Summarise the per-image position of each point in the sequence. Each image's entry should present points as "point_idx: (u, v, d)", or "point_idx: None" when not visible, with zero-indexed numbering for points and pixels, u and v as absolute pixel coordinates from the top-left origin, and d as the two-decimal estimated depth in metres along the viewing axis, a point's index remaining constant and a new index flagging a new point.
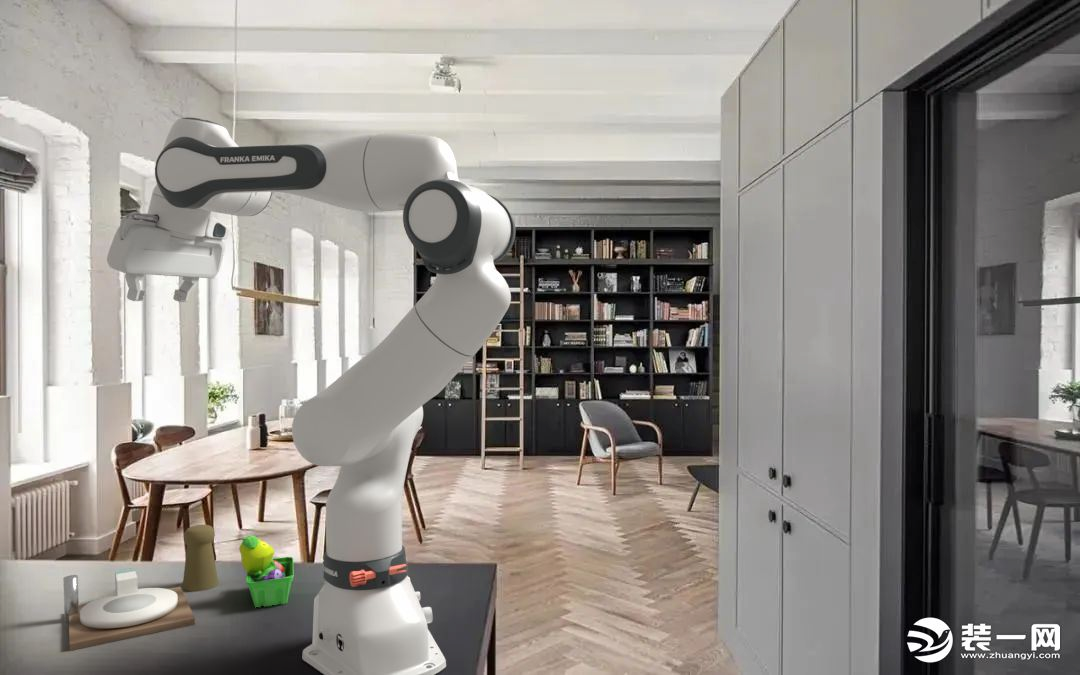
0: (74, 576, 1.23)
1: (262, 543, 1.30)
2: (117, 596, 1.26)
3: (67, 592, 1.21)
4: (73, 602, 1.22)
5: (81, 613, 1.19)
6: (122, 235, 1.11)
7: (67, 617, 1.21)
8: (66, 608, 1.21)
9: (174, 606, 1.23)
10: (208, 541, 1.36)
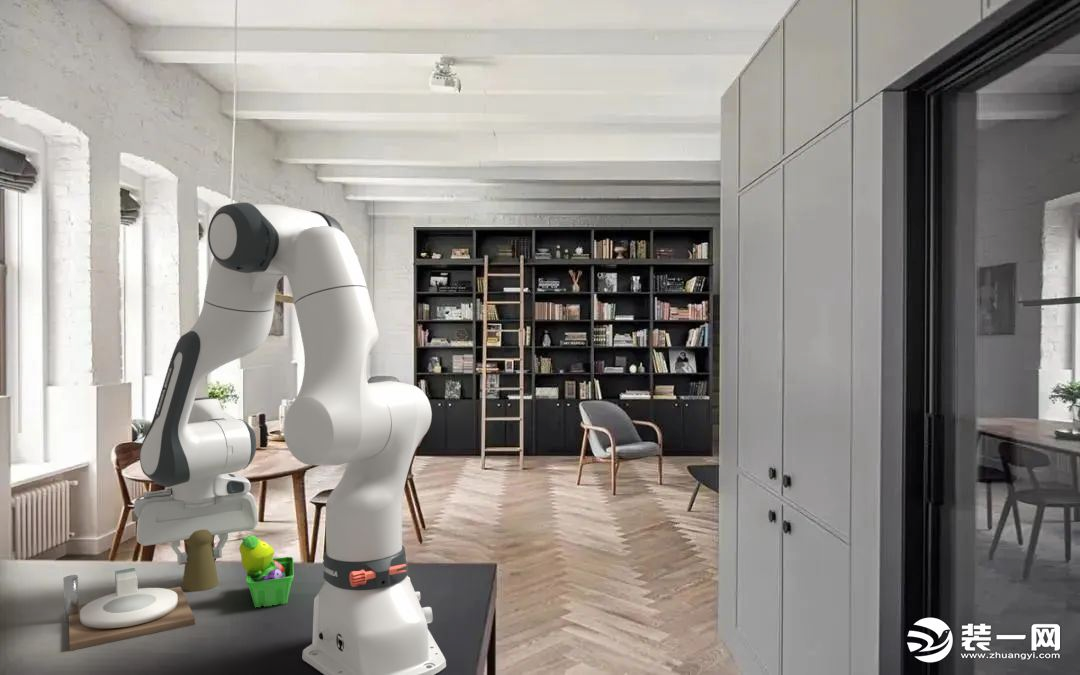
0: (74, 576, 1.23)
1: (262, 543, 1.30)
2: (117, 596, 1.26)
3: (67, 592, 1.21)
4: (73, 602, 1.22)
5: (81, 613, 1.19)
6: (136, 514, 1.31)
7: (67, 617, 1.21)
8: (66, 608, 1.21)
9: (174, 606, 1.23)
10: (208, 541, 1.36)
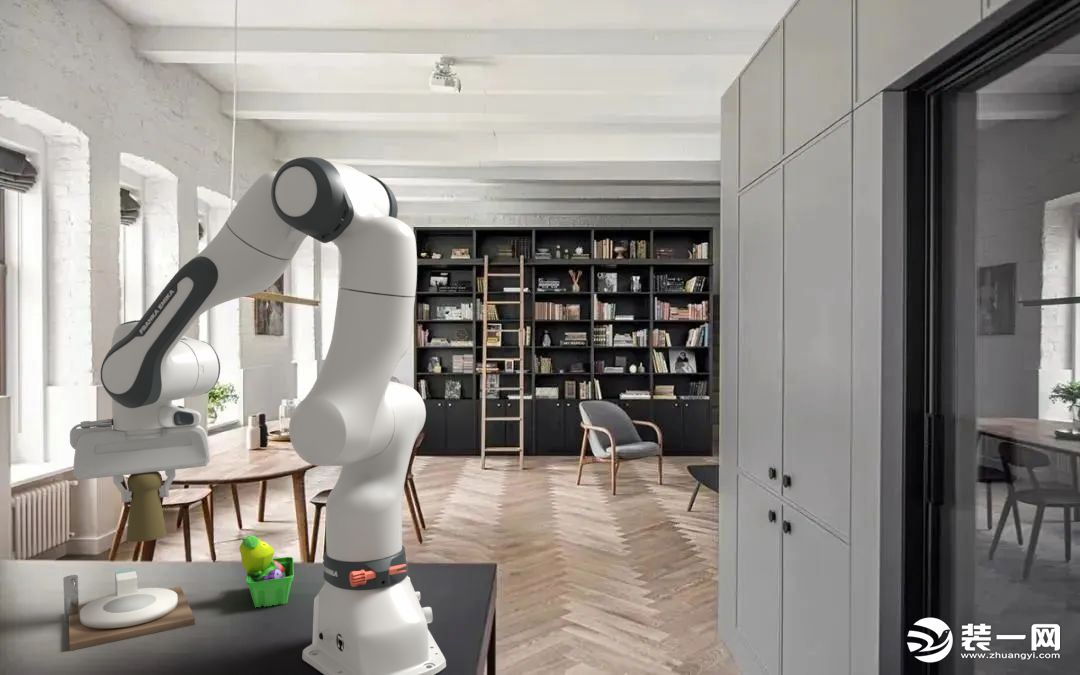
0: (74, 576, 1.23)
1: (262, 543, 1.30)
2: (117, 596, 1.26)
3: (67, 592, 1.21)
4: (73, 602, 1.22)
5: (81, 613, 1.19)
6: (72, 445, 1.20)
7: (67, 617, 1.21)
8: (66, 608, 1.21)
9: (174, 606, 1.23)
10: (154, 487, 1.24)
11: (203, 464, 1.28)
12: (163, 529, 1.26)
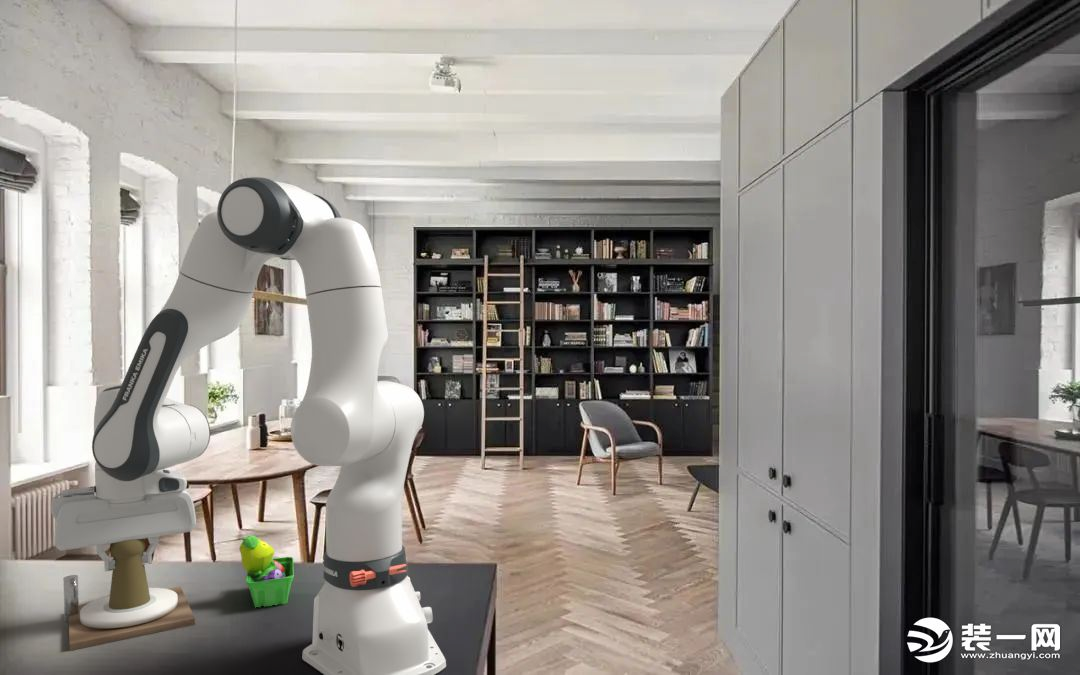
0: (74, 576, 1.23)
1: (262, 543, 1.30)
2: None
3: (67, 592, 1.21)
4: (73, 602, 1.22)
5: (81, 613, 1.19)
6: (53, 515, 1.16)
7: (67, 617, 1.21)
8: (66, 608, 1.21)
9: (174, 606, 1.23)
10: (137, 553, 1.21)
11: (188, 530, 1.25)
12: (147, 595, 1.23)
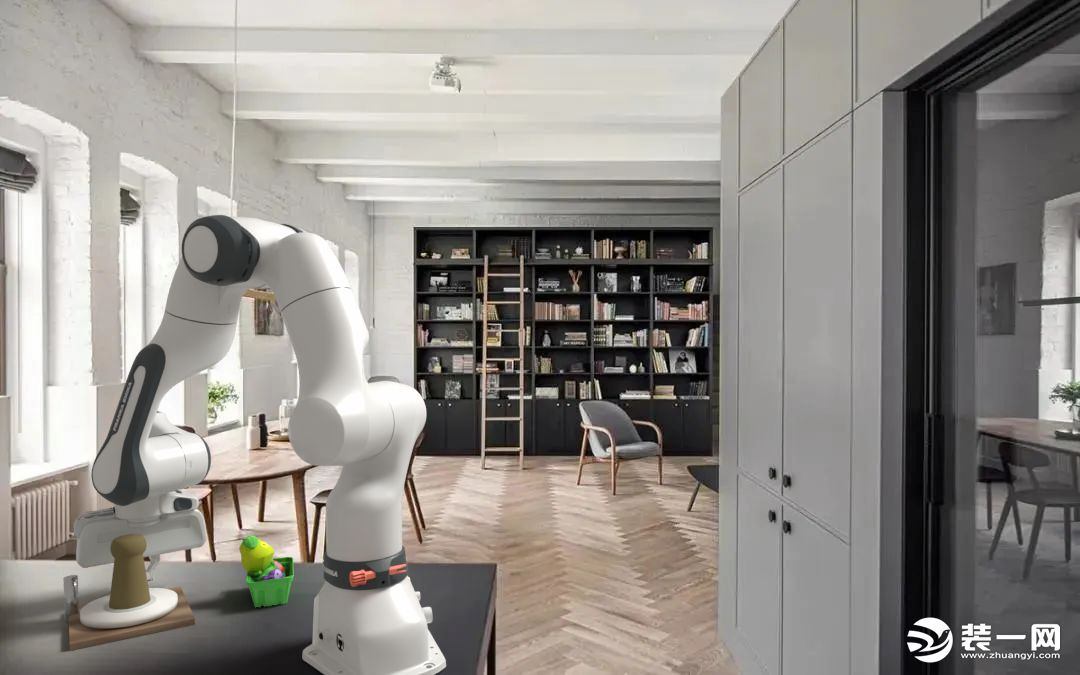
0: (74, 576, 1.23)
1: (262, 543, 1.30)
2: None
3: (67, 592, 1.21)
4: (73, 602, 1.22)
5: (81, 613, 1.18)
6: (76, 535, 1.25)
7: (67, 617, 1.21)
8: (66, 608, 1.21)
9: (174, 606, 1.23)
10: (138, 553, 1.21)
11: (200, 545, 1.36)
12: (147, 595, 1.23)
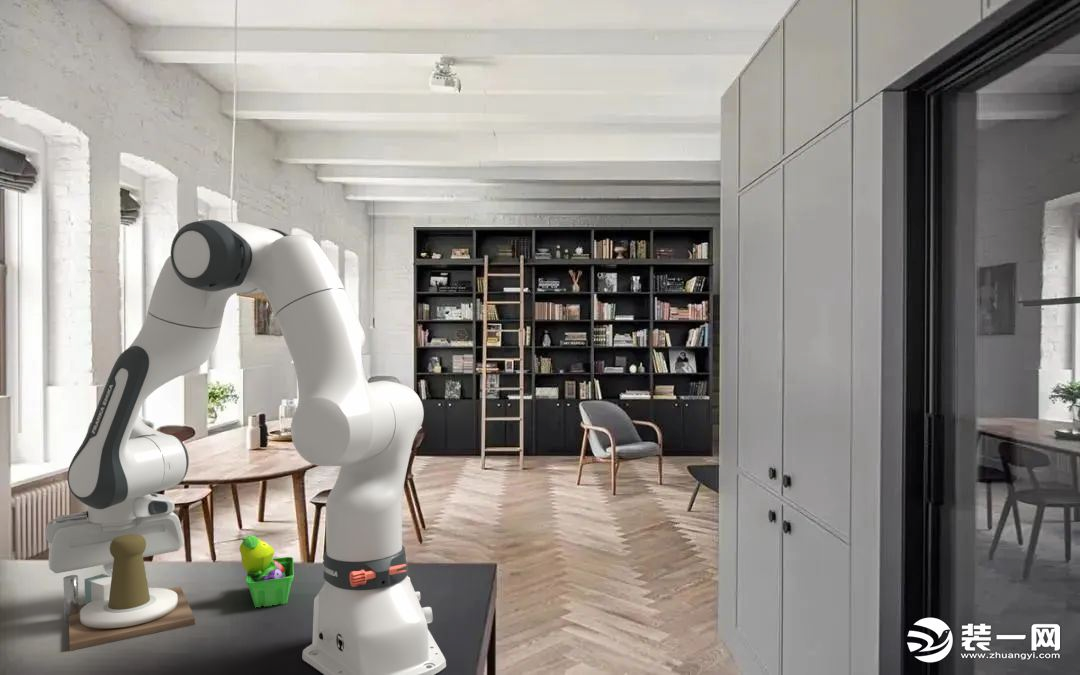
0: (74, 576, 1.23)
1: (262, 543, 1.30)
2: (104, 601, 1.24)
3: (67, 592, 1.21)
4: (73, 602, 1.22)
5: (88, 618, 1.17)
6: (48, 540, 1.23)
7: (67, 617, 1.21)
8: (66, 608, 1.21)
9: (177, 599, 1.26)
10: (142, 551, 1.22)
11: (176, 549, 1.34)
12: (148, 592, 1.24)
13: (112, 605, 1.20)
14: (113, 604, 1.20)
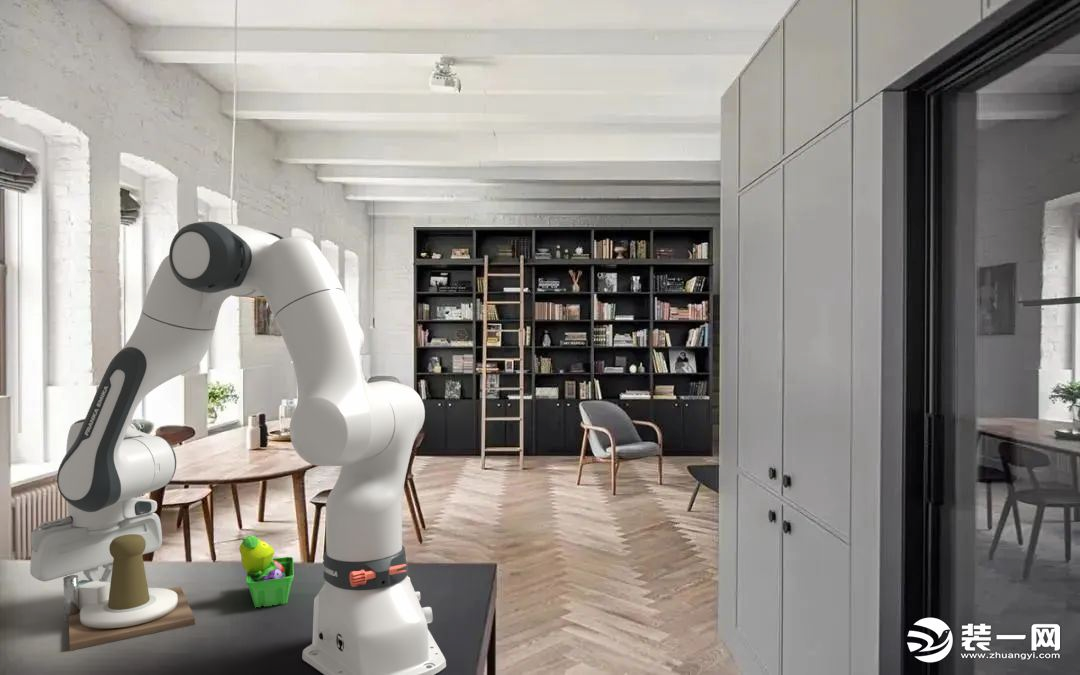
0: (74, 576, 1.23)
1: (262, 543, 1.30)
2: (98, 604, 1.22)
3: (67, 592, 1.21)
4: (73, 602, 1.22)
5: (98, 620, 1.16)
6: (34, 548, 1.19)
7: (67, 617, 1.21)
8: (66, 608, 1.21)
9: None
10: (144, 549, 1.23)
11: (156, 549, 1.34)
12: (147, 591, 1.25)
13: (116, 606, 1.20)
14: (117, 604, 1.20)
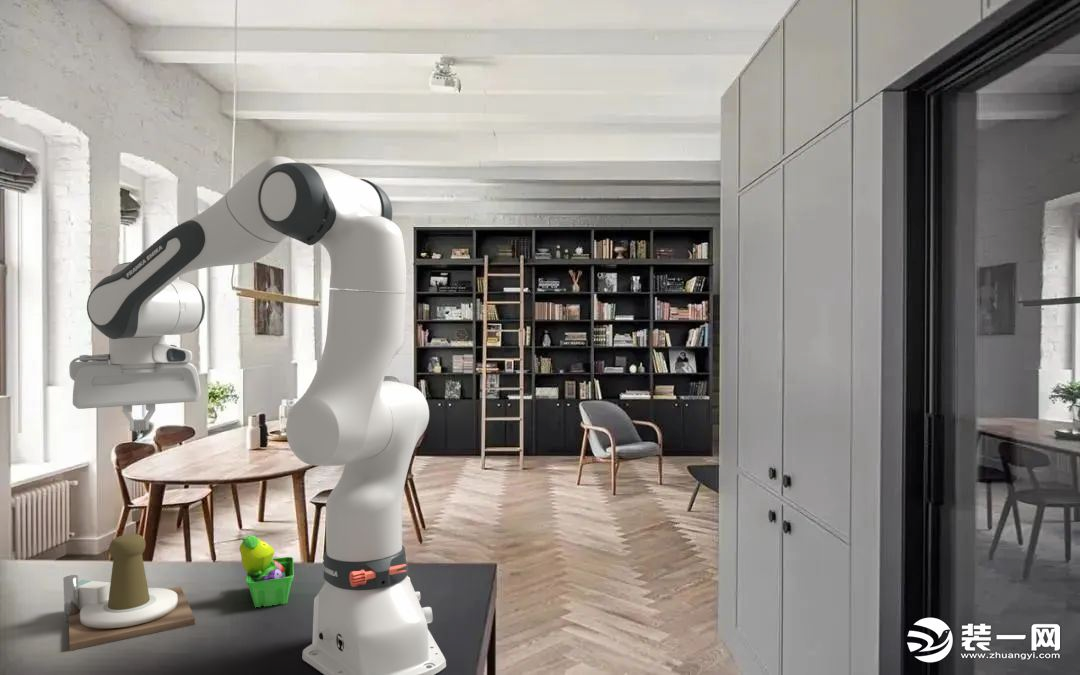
0: (74, 576, 1.23)
1: (262, 543, 1.30)
2: (98, 604, 1.22)
3: (67, 592, 1.21)
4: (73, 602, 1.22)
5: (98, 620, 1.16)
6: (72, 377, 1.28)
7: (67, 617, 1.21)
8: (66, 608, 1.21)
9: None
10: None
11: (194, 399, 1.37)
12: None
13: (116, 606, 1.20)
14: (117, 605, 1.20)
